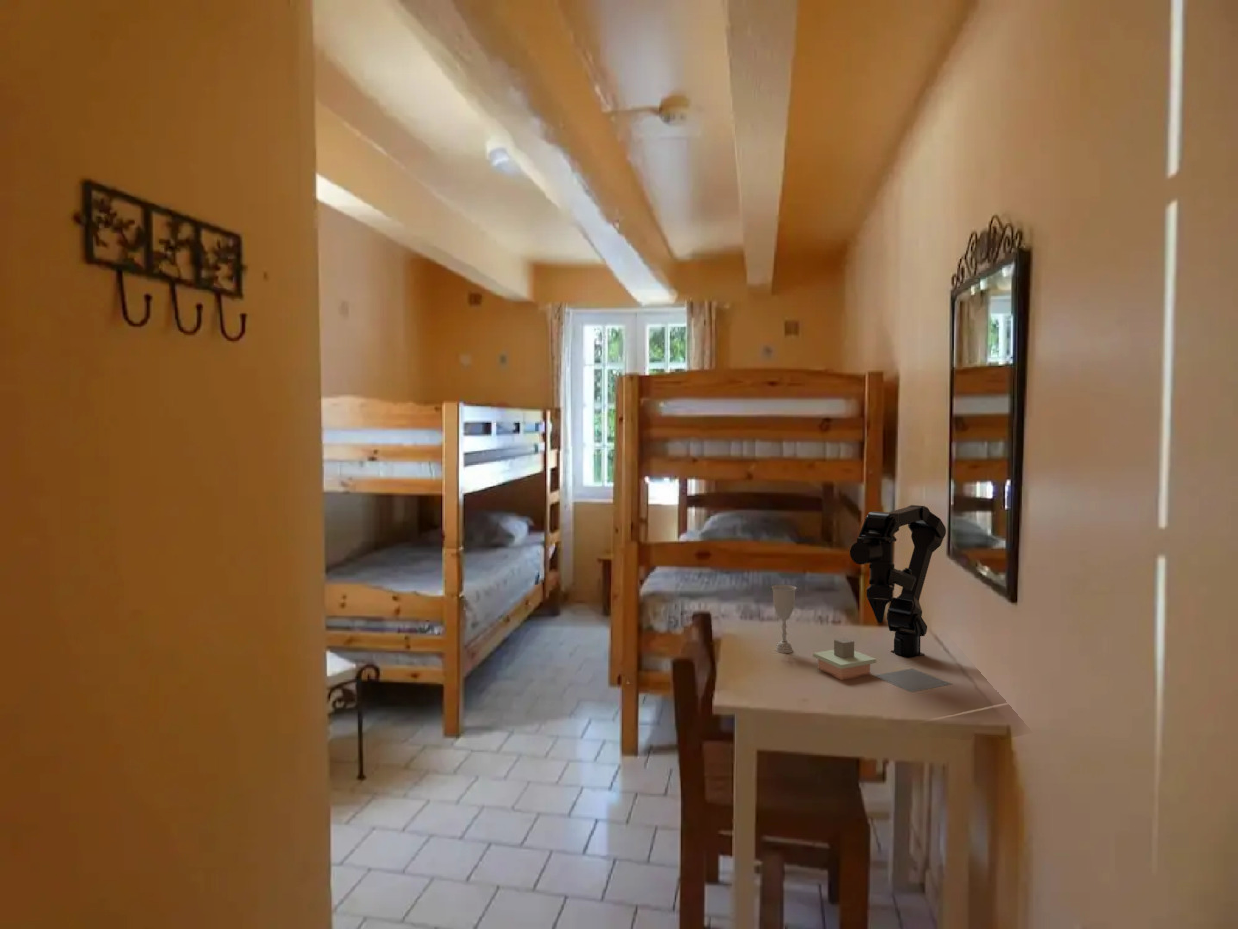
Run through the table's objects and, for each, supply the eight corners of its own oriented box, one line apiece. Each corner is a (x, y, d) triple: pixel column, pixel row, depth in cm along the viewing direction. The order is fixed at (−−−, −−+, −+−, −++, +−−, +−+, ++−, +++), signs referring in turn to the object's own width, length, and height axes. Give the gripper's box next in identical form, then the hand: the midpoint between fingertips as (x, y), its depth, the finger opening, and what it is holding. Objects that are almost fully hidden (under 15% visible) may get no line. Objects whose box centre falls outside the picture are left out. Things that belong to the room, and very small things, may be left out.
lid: (846, 651, 202) (846, 632, 201) (876, 663, 191) (876, 643, 191) (813, 656, 197) (813, 637, 197) (841, 669, 187) (841, 649, 187)
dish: (846, 665, 200) (846, 652, 200) (869, 676, 192) (870, 662, 192) (818, 670, 197) (818, 657, 197) (841, 681, 189) (841, 667, 188)
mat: (912, 670, 196) (912, 668, 196) (952, 685, 184) (952, 684, 184) (872, 677, 191) (872, 675, 191) (911, 693, 179) (911, 692, 179)
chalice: (766, 648, 217) (766, 586, 216) (786, 645, 220) (786, 583, 219) (781, 655, 210) (781, 591, 209) (802, 652, 213) (801, 588, 212)
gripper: (913, 567, 187) (913, 630, 188) (914, 555, 205) (914, 612, 205) (866, 565, 192) (866, 626, 192) (871, 553, 209) (870, 609, 210)
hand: (880, 618), depth 200 cm, fingers open, 9 cm apart
